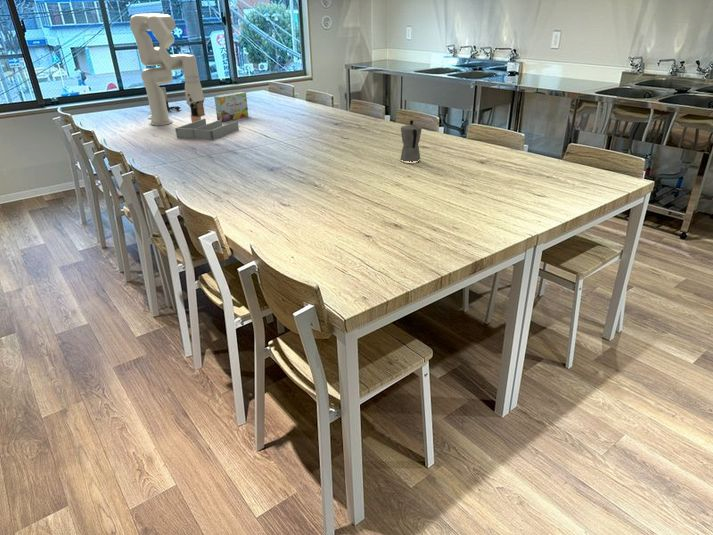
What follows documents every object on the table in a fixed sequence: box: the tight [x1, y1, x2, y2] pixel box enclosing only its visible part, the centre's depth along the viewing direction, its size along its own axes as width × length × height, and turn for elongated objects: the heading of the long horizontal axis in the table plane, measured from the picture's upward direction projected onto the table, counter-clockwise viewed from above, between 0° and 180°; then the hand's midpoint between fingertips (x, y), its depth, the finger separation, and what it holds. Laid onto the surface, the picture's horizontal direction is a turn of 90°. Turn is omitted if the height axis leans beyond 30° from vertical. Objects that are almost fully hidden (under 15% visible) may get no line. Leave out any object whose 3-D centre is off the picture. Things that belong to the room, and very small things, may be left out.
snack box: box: [213, 91, 249, 123], centre depth 306 cm, size 21×6×15 cm, turn 143°
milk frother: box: [159, 86, 181, 112], centre depth 334 cm, size 14×16×15 cm
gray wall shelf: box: [175, 118, 240, 141], centre depth 274 cm, size 23×26×5 cm
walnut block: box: [190, 102, 206, 118], centre depth 271 cm, size 5×5×7 cm
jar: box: [190, 113, 202, 123], centre depth 290 cm, size 6×6×8 cm
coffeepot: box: [399, 119, 423, 162], centre depth 215 cm, size 15×9×18 cm, turn 6°
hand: (198, 114), depth 272 cm, fingers closed on walnut block, 5 cm apart
